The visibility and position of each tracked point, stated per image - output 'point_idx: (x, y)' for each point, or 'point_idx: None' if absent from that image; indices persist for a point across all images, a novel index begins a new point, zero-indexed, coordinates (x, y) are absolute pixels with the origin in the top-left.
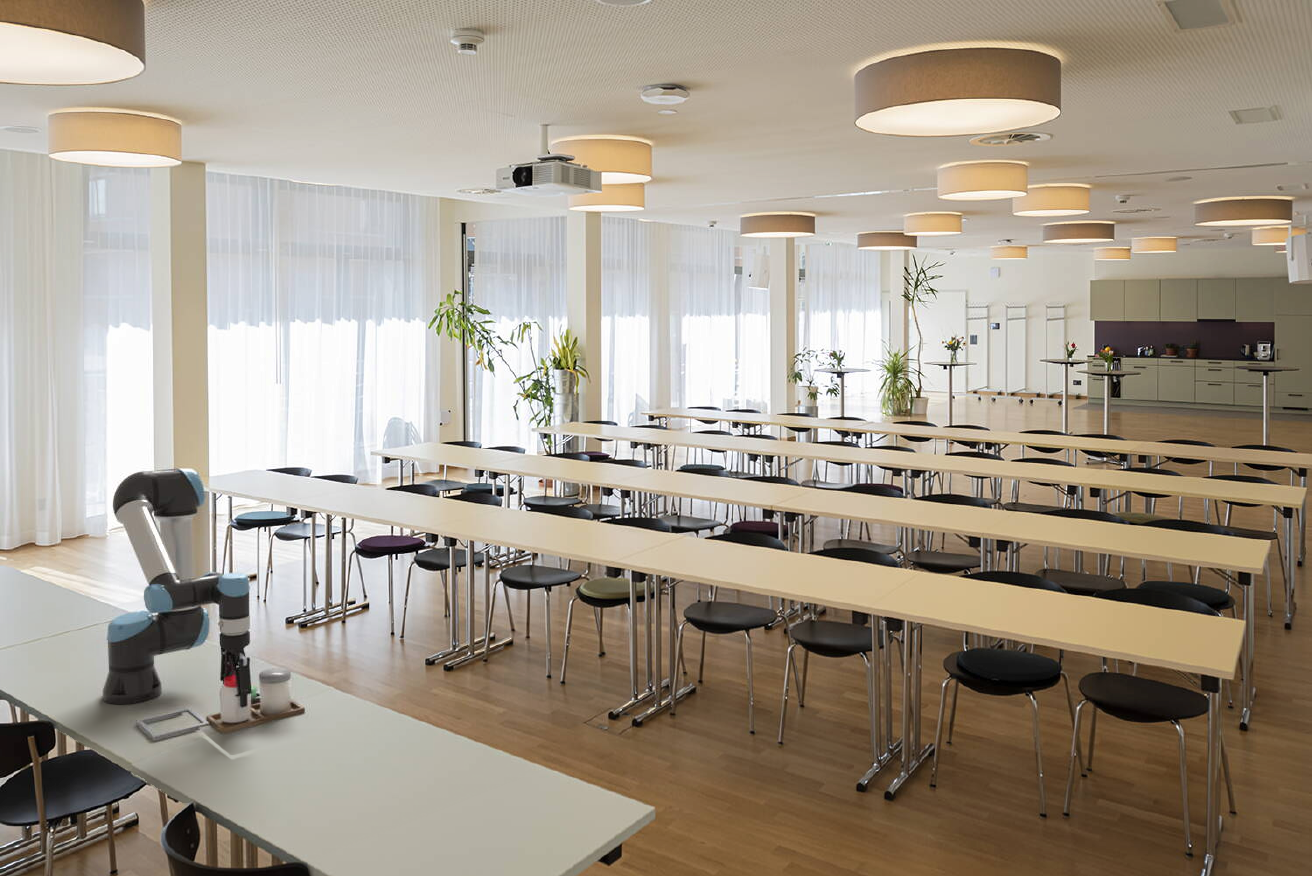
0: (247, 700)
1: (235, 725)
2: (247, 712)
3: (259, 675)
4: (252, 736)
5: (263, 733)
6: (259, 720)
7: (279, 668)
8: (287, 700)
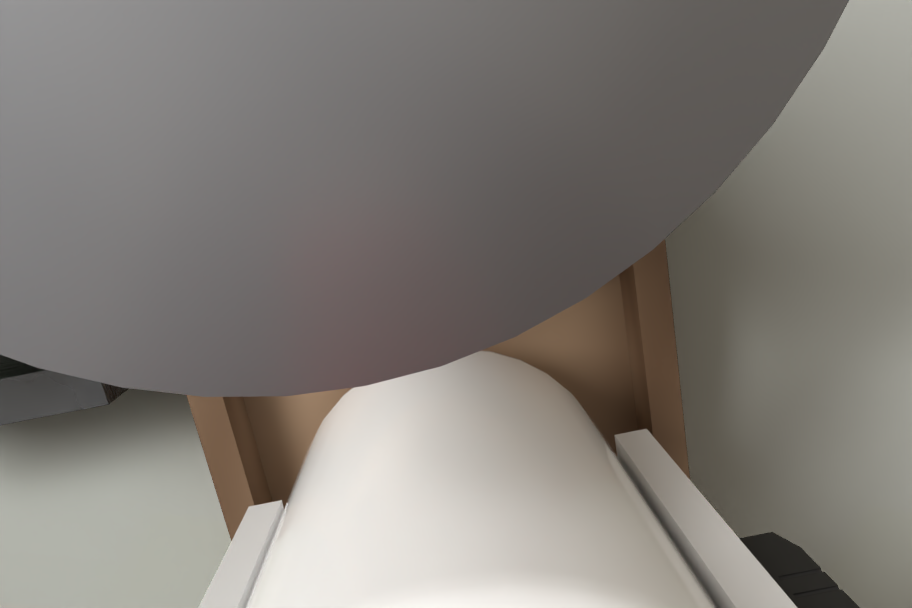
0: (757, 561)
1: None
2: (668, 460)
3: (228, 392)
4: (818, 383)
5: (813, 284)
6: (666, 298)
7: None
8: None
